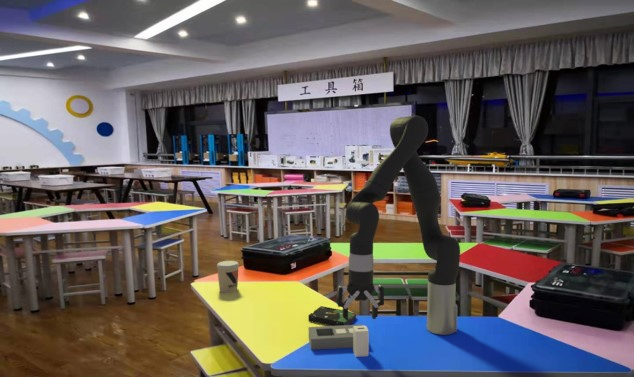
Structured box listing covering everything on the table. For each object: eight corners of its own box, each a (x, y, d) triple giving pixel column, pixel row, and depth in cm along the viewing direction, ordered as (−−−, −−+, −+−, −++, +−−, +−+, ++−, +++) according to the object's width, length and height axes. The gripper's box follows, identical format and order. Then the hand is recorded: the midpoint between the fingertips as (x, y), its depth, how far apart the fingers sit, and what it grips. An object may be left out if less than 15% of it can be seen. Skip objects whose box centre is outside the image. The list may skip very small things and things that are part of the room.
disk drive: (308, 322, 161) (345, 329, 154) (307, 315, 160) (345, 322, 153) (320, 312, 170) (356, 319, 163) (320, 305, 169) (356, 311, 163)
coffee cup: (229, 294, 188) (228, 267, 187) (213, 290, 193) (212, 264, 192) (243, 288, 196) (242, 262, 195) (227, 284, 201) (227, 259, 200)
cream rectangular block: (365, 349, 138) (365, 325, 137) (368, 356, 134) (368, 330, 133) (353, 350, 138) (353, 325, 137) (355, 356, 134) (355, 331, 133)
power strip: (361, 334, 149) (361, 323, 149) (367, 346, 140) (367, 334, 140) (308, 337, 147) (308, 325, 147) (311, 349, 138) (311, 337, 138)
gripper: (380, 263, 138) (379, 313, 139) (335, 264, 136) (335, 314, 138) (387, 270, 130) (385, 323, 132) (339, 271, 129) (338, 324, 130)
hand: (359, 318), depth 135 cm, fingers open, 8 cm apart
